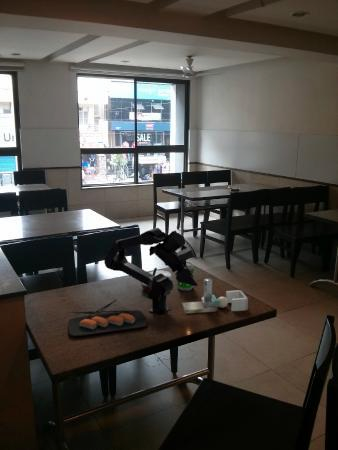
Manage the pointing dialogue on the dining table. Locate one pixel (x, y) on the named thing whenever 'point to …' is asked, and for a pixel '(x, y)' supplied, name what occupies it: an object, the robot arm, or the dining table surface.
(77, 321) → the sushi plate
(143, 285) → the cocoa
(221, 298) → the ball
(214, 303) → the striker
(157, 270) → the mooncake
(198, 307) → the beige flat block
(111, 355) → the dining table surface
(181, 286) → the soda can
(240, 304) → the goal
